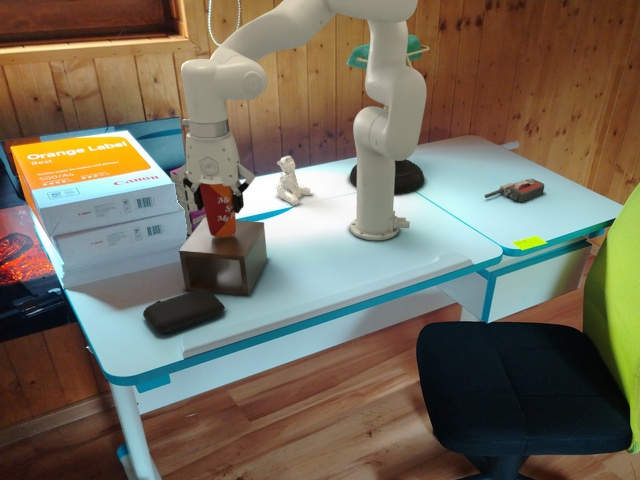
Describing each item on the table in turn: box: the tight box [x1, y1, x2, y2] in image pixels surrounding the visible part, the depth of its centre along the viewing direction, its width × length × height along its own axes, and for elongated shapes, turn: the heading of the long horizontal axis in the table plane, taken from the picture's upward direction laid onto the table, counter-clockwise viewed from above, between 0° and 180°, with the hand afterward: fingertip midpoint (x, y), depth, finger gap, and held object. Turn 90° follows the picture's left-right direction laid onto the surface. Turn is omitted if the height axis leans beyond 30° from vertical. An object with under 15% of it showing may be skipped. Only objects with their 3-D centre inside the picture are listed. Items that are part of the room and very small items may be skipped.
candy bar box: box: [169, 167, 206, 236], centre depth 157 cm, size 11×5×16 cm, turn 148°
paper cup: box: [199, 175, 237, 237], centre depth 133 cm, size 8×8×14 cm
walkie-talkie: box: [484, 178, 545, 203], centre depth 186 cm, size 9×4×20 cm
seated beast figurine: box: [275, 155, 311, 206], centre depth 175 cm, size 10×9×12 cm
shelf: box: [178, 218, 268, 297], centre depth 140 cm, size 14×16×10 cm
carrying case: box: [142, 289, 226, 336], centre depth 129 cm, size 11×3×15 cm
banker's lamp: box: [346, 34, 430, 196], centre depth 181 cm, size 26×23×40 cm
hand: (220, 208), depth 134 cm, fingers closed on paper cup, 7 cm apart
